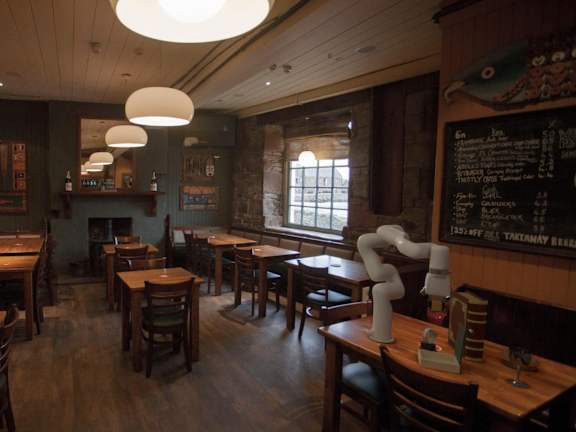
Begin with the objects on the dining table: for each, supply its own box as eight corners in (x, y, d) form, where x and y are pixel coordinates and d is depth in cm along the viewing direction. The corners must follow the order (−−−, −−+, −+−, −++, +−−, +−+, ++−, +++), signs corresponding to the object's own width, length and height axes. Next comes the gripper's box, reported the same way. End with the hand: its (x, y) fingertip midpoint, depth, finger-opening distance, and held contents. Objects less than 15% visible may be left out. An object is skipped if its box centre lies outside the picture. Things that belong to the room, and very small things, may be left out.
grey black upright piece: (438, 349, 204) (439, 329, 203) (428, 352, 200) (429, 331, 199) (427, 345, 209) (428, 325, 208) (418, 348, 205) (419, 327, 204)
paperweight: (431, 310, 184) (432, 302, 184) (430, 307, 188) (431, 299, 188) (441, 311, 183) (442, 303, 182) (440, 309, 186) (440, 300, 186)
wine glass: (501, 379, 173) (503, 346, 171) (517, 379, 173) (520, 346, 172) (517, 388, 165) (520, 354, 163) (535, 388, 165) (537, 354, 164)
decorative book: (485, 362, 189) (490, 302, 187) (467, 360, 191) (471, 301, 188) (463, 344, 211) (467, 289, 209) (447, 342, 213) (450, 289, 210)
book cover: (464, 330, 176) (477, 333, 174) (459, 321, 187) (471, 324, 185) (459, 364, 177) (472, 367, 175) (454, 353, 189) (466, 356, 187)
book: (420, 366, 184) (420, 358, 184) (417, 356, 196) (418, 348, 195) (459, 373, 178) (460, 365, 177) (454, 362, 189) (455, 354, 189)
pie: (528, 360, 192) (528, 350, 191) (548, 375, 177) (549, 364, 176) (491, 356, 196) (492, 347, 195) (508, 371, 181) (509, 360, 180)
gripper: (458, 272, 183) (455, 309, 185) (417, 268, 191) (415, 304, 192) (461, 275, 177) (458, 314, 178) (418, 271, 184) (416, 309, 186)
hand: (435, 309), depth 185 cm, fingers closed on paperweight, 4 cm apart
